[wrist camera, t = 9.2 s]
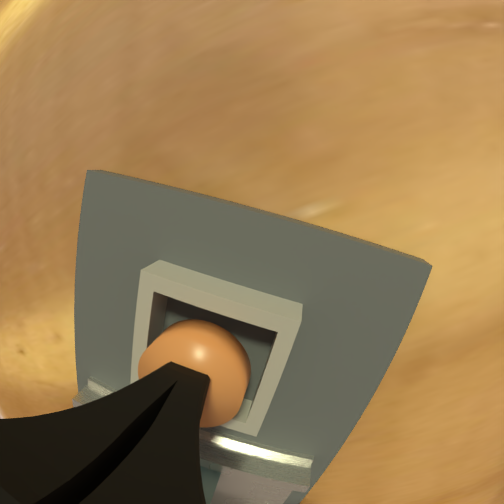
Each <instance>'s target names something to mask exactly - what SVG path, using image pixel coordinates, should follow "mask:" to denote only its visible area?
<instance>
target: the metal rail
mask: <svg viewBox="0 0 504 504" xmlns="http://www.w3.org/2000/svg"><path fill="white" fill-rule="evenodd" d="M115 391H118V390H117V389H114V388H112V387H110V386H108V385H107V384H105V383H103V382H101V381H99V380H97V379H95V378H93V377H91V376H90V377H89V378H88V384H87V385H86V386H85V387H84V388H83V389H82V390H81V391H80V392H79V393H78V394H77V395H76V396H75V397H74V398H72V400H73V407H77V406H80V405H83V404H86V403H89V402H92V401H94V400H97V399H99V398H102V397H104V396H106V395H109V394H111V393H113V392H115ZM199 452H200V466H202V467H205V468H208V469H211V470H214V471H218V472H221V475H220V478H219V480H218V483H217V486H216V489H215V492H214V494H213V497H212V500H211V503H210V504H283V503H284V502H285V500H286V499H287V498H288V496H289V495H290V494H291V492H292V491H298V492H304V493H305V492H306V491H307V490H308V488H309V487H310V475H311V464H312V462H313V461H314V456H312V455H307V454H302V453H297V452H293V451H288V450H284V449H280V448H276V447H272V446H268V445H264V444H260V443H257V442H253V441H249V440H246V439H242V438H239V437H236V436H233V435H229V434H226V433H223V432H220V431H217V430H214V429H211V428H208V427H207V428H204V427H200V429H199Z"/></svg>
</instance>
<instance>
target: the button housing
mask: <svg viewBox="0 0 504 504" xmlns="http://www.w3.org/2000/svg"><path fill="white" fill-rule="evenodd" d="M168 297H171V298H174V299H177V300H180V301H182V302H185V303H188V304H191V305H194V306H197V307H200V308H203V309H206V310H209V311H212V312H215V313H218V314H221V315H224V316H227V317H230V318H233V319H236V320H240V321H243V322H246V323H249V324H252V325H256V326H259V327H262V328H266V329H269V330H272V331H276V334H275V337H274V340H273V343H272V346H271V349H270V352H269V355H268V358H267V361H266V364H265V366H264V369H263V372H262V375H261V378H260V381H259V384H258V386H257V389H256V392H255V395H254V398H253V400H252V401H251V400H247V399H244V398H243V401H242V404H241V407H240V409H239V411H238V413H237V414H236V415H235V416H234V417H233V418H232V419H231V420H230V421H228V422H226V423H224V424H222V425H219V426H223V427H226V428H229V429H232V430H235V431H238V432H242V433H245V434H249V435H252V436H256V437H257V434H258V432H259V430H260V427H261V425H262V422H263V420H264V418H265V415H266V413H267V410H268V408H269V406H270V403H271V401H272V398H273V396H274V393H275V391H276V388H277V386H278V383H279V380H280V378H281V375H282V373H283V370H284V368H285V365H286V362H287V360H288V357H289V354H290V352H291V349H292V346H293V343H294V341H295V338H296V335H297V332H298V330H299V327H300V324H301V321H302V307H303V304H301V303H298V302H294V301H291V300H287V299H284V298H281V297H277V296H274V295H271V294H267V293H264V292H261V291H257V290H254V289H251V288H247V287H244V286H241V285H238V284H234V283H231V282H228V281H225V280H221V279H218V278H215V277H212V276H209V275H206V274H202V273H199V272H196V271H193V270H190V269H187V268H184V267H181V266H178V265H175V264H172V263H168V262H165V261H162V260H158V261H156V262H154V263H153V264H151V265H149V266H147V267H145V268H143V269H142V270H141V273H140V280H139V288H138V296H137V305H136V315H135V325H134V336H133V348H132V363H131V381H130V384H131V383H133V382H135V381H137V380H139V377H138V364H139V360H140V357H141V356H142V354H143V352H144V351H145V350H146V349H147V348H148V347H149V346H150V345H151V344H152V343H153V341H154V340H155V339H156V338H157V337H158V336H159V335H160V334H161V333H162V332H163V325H164V319H165V312H166V306H167V299H168Z"/></svg>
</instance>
